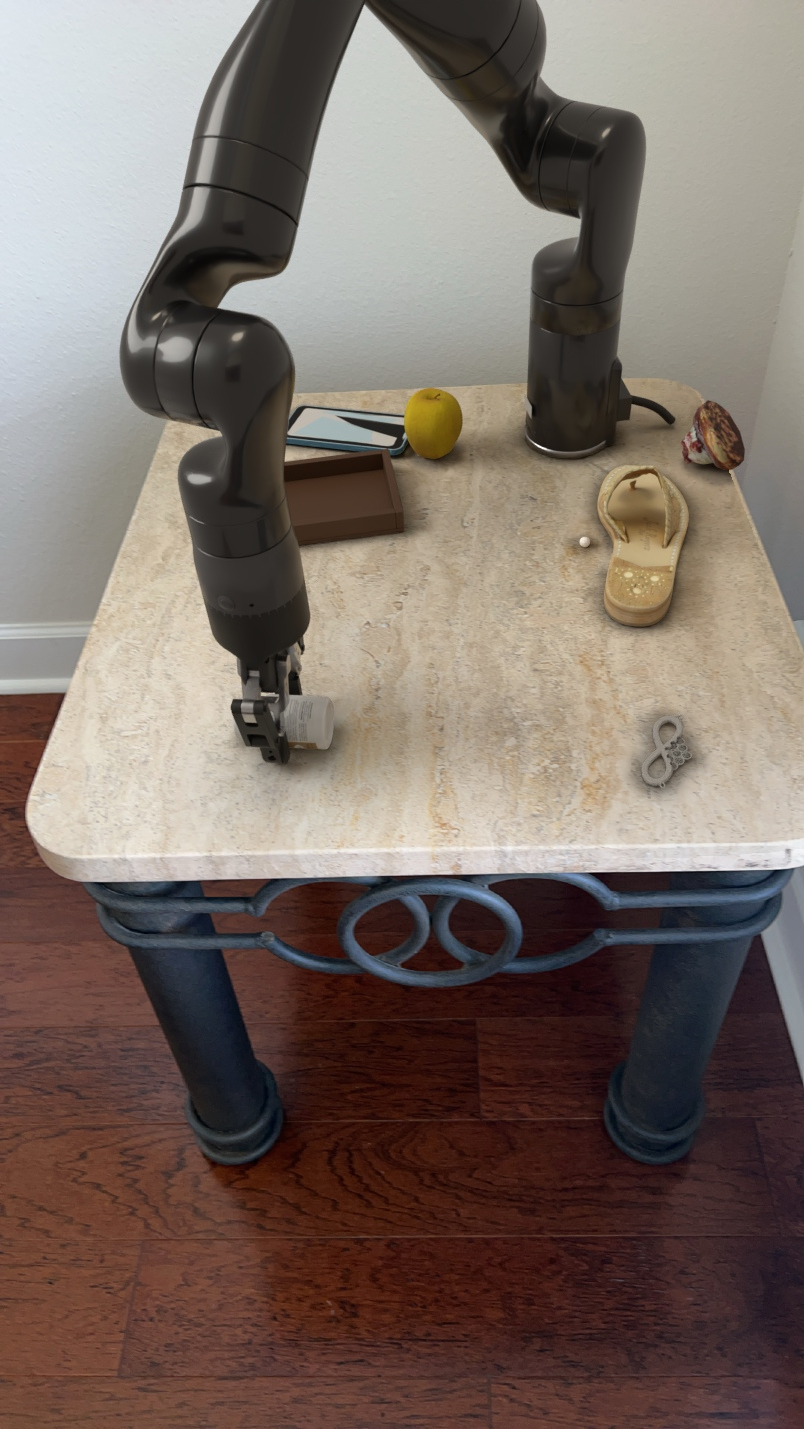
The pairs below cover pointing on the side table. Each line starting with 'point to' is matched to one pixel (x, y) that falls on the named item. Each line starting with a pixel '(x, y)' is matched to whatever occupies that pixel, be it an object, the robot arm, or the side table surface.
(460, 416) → the apple
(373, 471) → the tray
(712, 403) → the pastry
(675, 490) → the sandal
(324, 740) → the pill bottle
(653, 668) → the side table surface
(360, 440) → the smartphone
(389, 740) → the side table surface
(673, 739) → the charm
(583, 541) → the sphere
